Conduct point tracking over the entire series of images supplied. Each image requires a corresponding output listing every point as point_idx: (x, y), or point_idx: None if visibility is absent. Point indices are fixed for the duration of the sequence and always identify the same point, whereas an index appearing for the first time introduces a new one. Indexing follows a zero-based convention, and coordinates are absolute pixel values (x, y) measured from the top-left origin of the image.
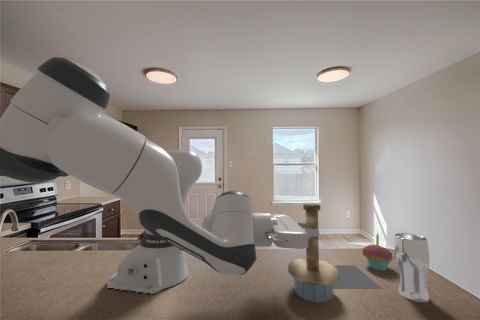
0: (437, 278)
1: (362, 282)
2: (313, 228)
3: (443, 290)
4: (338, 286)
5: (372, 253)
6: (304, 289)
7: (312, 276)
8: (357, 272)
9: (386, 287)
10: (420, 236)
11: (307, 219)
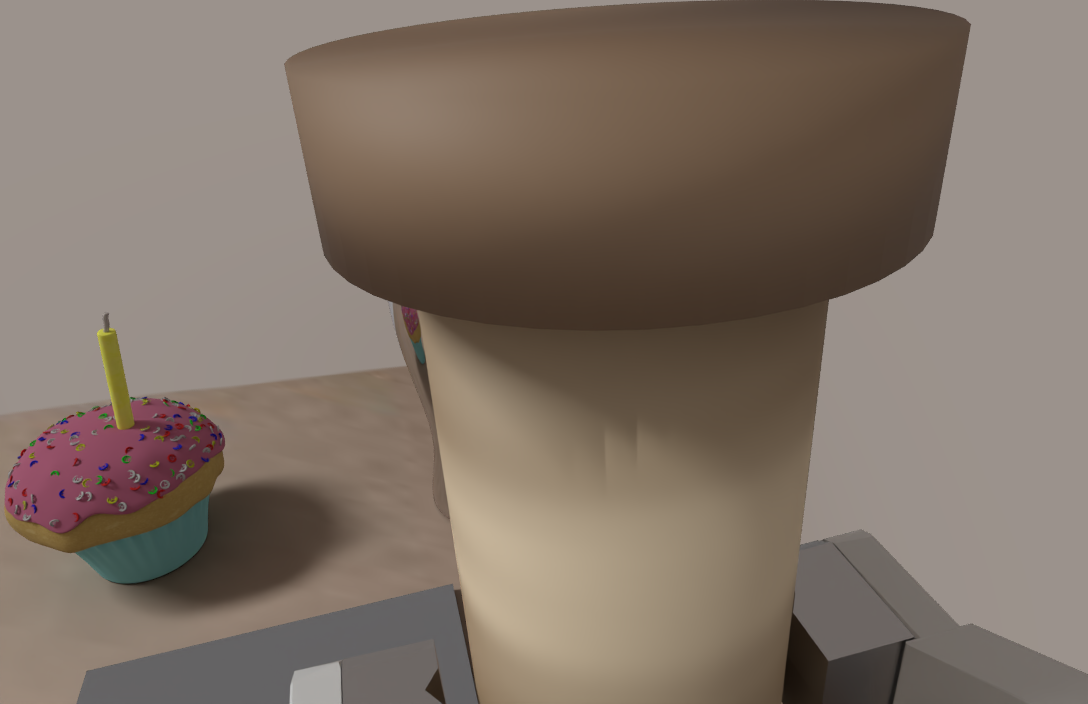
0: (309, 382)
1: None
2: (863, 599)
3: (418, 396)
4: None
5: (159, 478)
6: None
7: None
8: (220, 674)
9: (422, 565)
10: None
11: (777, 561)
